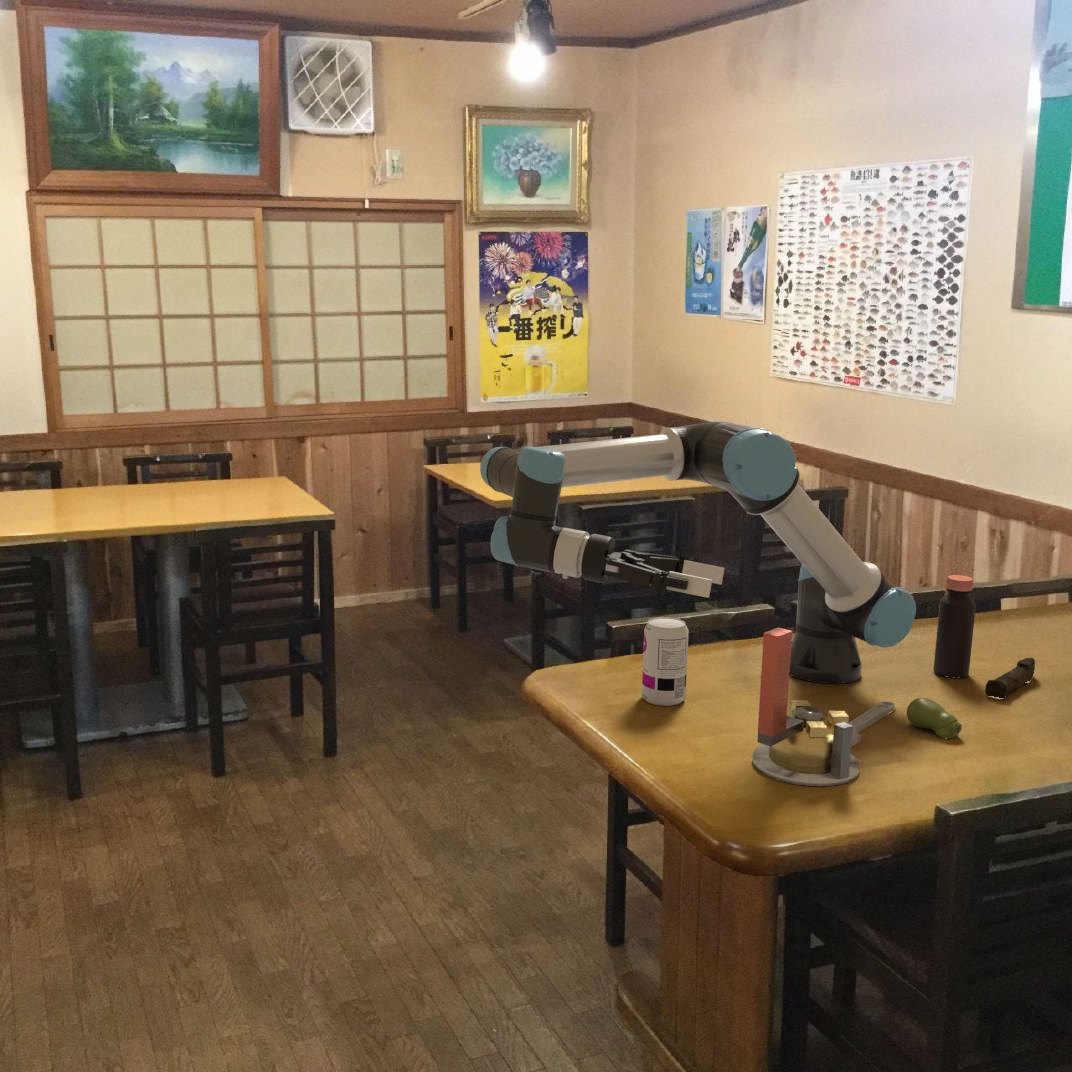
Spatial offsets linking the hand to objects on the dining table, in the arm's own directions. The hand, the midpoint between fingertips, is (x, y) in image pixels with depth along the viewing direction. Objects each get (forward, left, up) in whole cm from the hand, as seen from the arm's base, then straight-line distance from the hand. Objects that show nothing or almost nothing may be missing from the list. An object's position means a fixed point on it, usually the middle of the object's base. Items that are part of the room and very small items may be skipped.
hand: (717, 582), depth 182 cm
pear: (-45, -13, -31) cm, 56 cm away
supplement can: (0, -32, -31) cm, 45 cm away
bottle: (-62, -42, -31) cm, 82 cm away
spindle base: (-16, 0, -31) cm, 35 cm away
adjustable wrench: (-33, -16, -32) cm, 48 cm away
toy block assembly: (-14, +2, -30) cm, 33 cm away
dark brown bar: (-71, -34, -32) cm, 85 cm away
